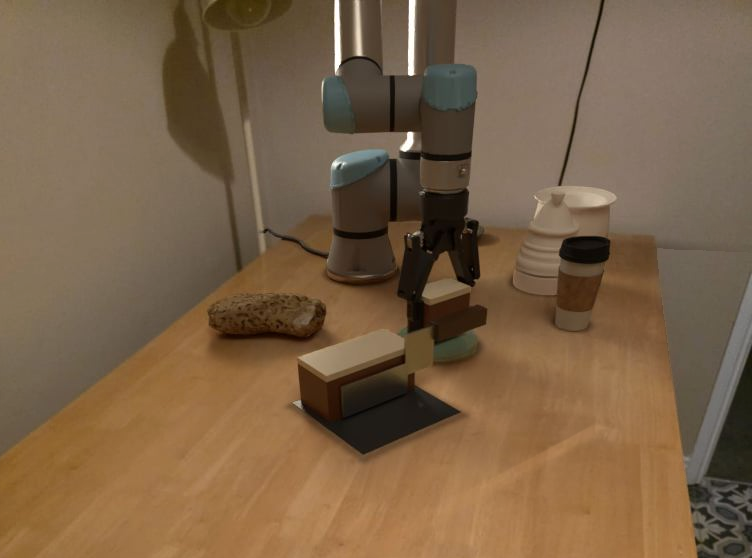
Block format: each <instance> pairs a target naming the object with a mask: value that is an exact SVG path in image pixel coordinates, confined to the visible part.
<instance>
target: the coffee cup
mask: <svg viewBox="0 0 752 558" xmlns="http://www.w3.org/2000/svg"><path fill="white" fill-rule="evenodd" d="M611 242H612V241H611V239H610V238H608V237H607V238H605V237H602V236H576V237H569V238H566V239H564V240H563V242H562V245H561V248H560V249H559V256H560V258H561V259H560V266H559V269H558V284H557V295H556V299H555V301H556V303H555V315H554V325H555V326H556V327H557V328H558V329H561V330H564V331H569V332H579V331H584V330H586V329H587V328H588V327H589V323H590V320H591V316H592V312H593V309H594V306H595V303H596V300H597V297H598V292H599V291H600V287H601V284H602V280H603V276H604V274H605V266H606V262H608V261H609V260H610V256H611V251H610V250H611Z"/></svg>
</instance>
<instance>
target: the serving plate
mask: <svg viewBox="0 0 752 558" xmlns="http://www.w3.org/2000/svg"><path fill="white" fill-rule="evenodd" d="M396 334H397V335H399V336H400V337H402V338H404V335H405V334H407V326H405V327H403V328H402V329H400V330H399V331H398V332H397V333H396ZM478 341H479V338H478V336H477V334H476V332H475V331H473V329H472V330H469V331H467V332H464V333H461V334H458V335H456V336H453V337H450V338H447V339H445V340H442V341H439V342H437V341H434V350H433V362H435V361H436V362H437V361H439V362H443V361H453V360H458V359H461V358H464V357H466V356H473V355H474V354H475V353H476V352H477V348H478Z"/></svg>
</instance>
